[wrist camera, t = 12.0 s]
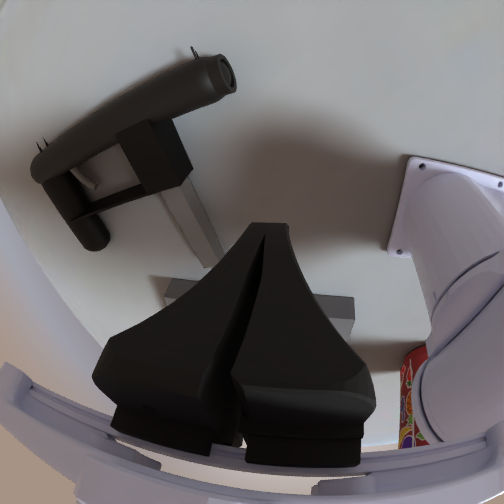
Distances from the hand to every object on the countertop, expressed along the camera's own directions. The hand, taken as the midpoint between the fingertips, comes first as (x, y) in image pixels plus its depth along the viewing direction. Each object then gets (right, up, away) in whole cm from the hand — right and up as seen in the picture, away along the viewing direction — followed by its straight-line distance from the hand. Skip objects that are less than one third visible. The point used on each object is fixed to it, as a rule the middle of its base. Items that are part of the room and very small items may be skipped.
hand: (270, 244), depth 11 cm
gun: (-9, +5, +11) cm, 15 cm away
